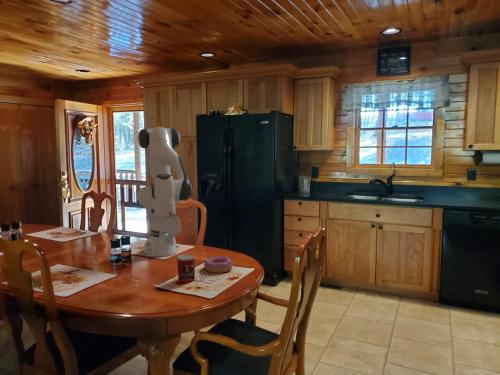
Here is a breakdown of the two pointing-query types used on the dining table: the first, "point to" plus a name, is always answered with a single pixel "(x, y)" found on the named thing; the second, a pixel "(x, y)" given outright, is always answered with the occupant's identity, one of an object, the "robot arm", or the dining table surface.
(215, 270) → the donut
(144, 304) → the dining table surface
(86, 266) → the dining table surface
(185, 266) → the canned food
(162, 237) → the sage block
